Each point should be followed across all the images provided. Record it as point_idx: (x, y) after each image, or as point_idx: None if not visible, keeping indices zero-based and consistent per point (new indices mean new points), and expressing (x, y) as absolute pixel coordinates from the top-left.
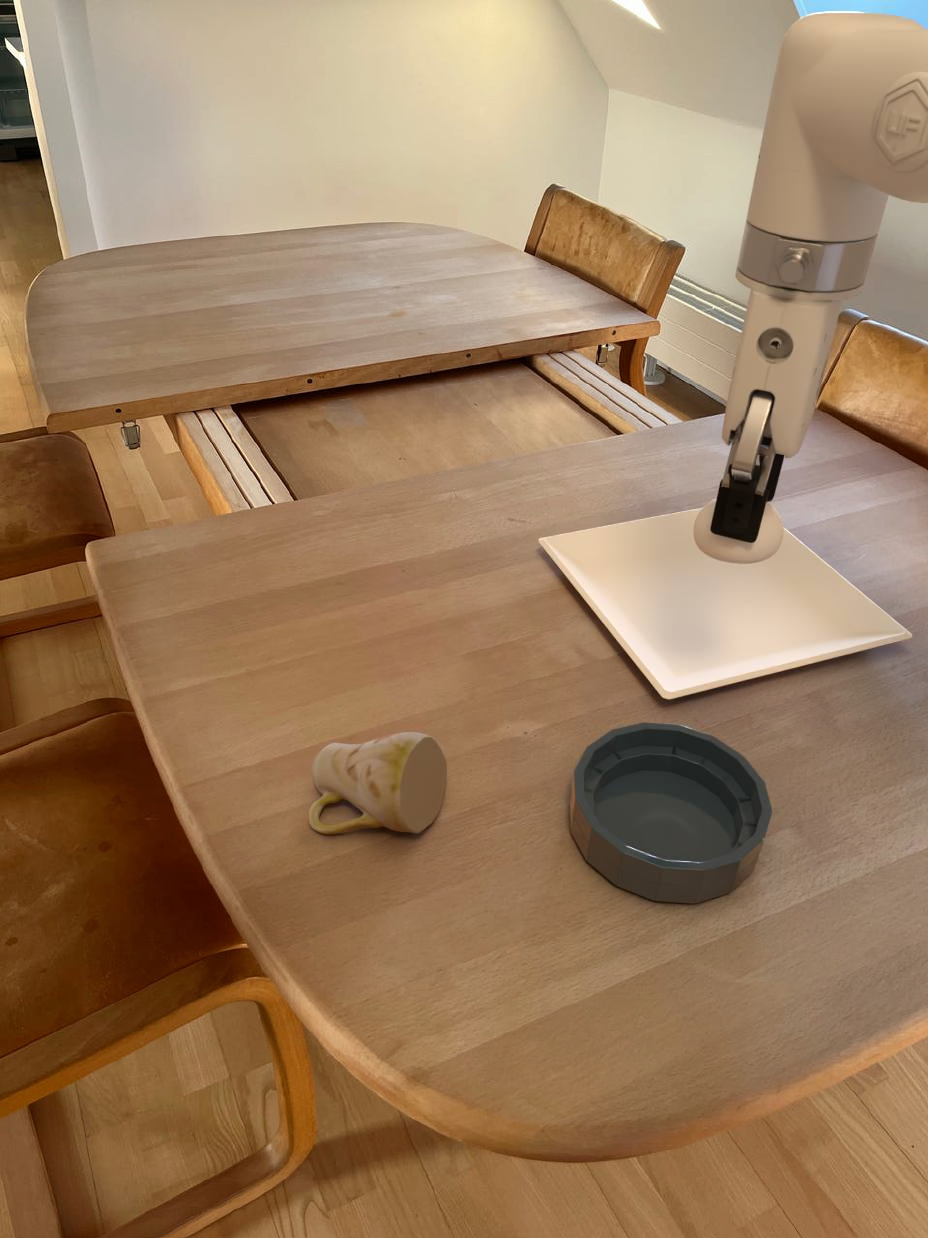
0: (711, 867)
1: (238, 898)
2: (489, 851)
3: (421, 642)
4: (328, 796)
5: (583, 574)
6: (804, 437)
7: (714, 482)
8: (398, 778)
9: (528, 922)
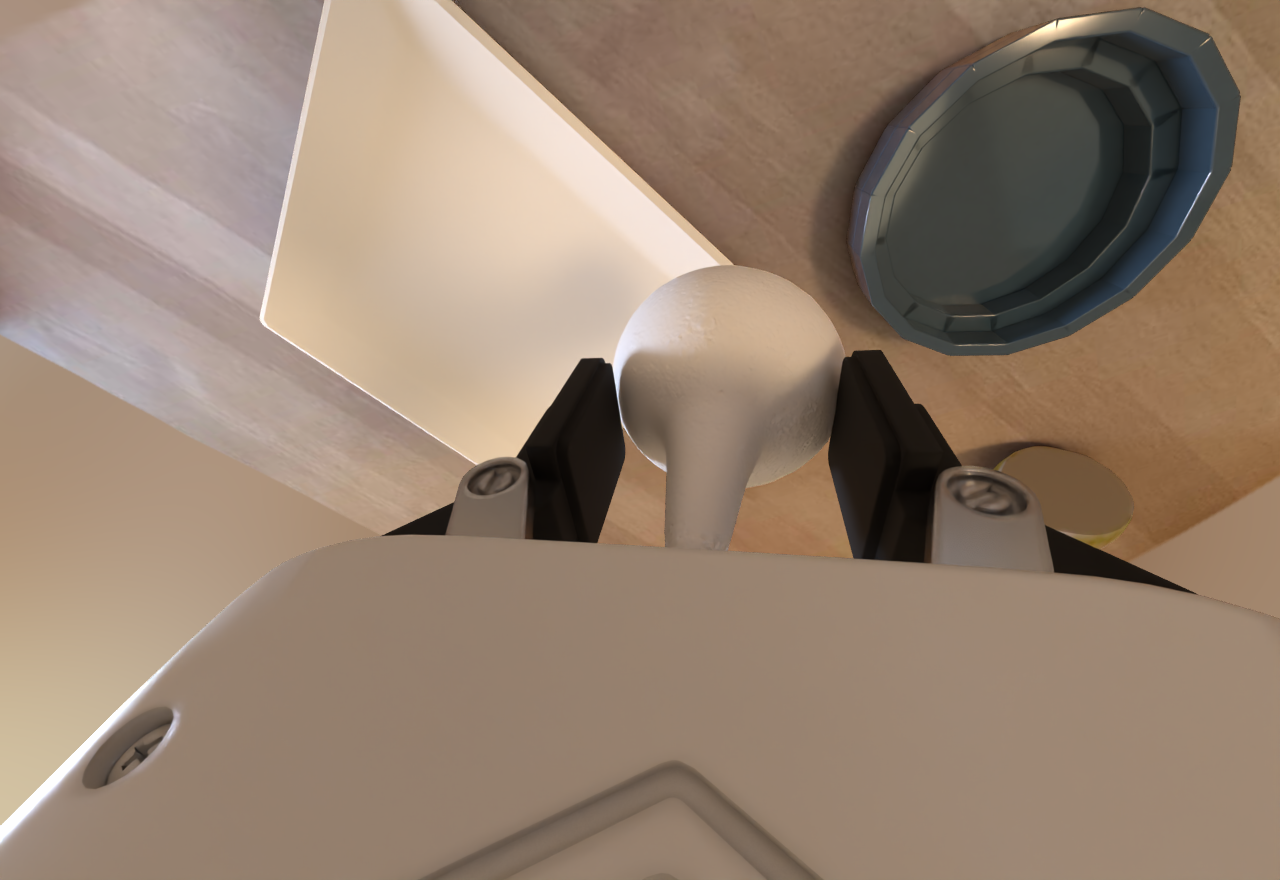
0: (1232, 83)
1: (1167, 541)
2: (1071, 380)
3: (751, 534)
4: None
5: None
6: (815, 561)
7: (259, 370)
8: (1125, 526)
9: (1198, 302)
